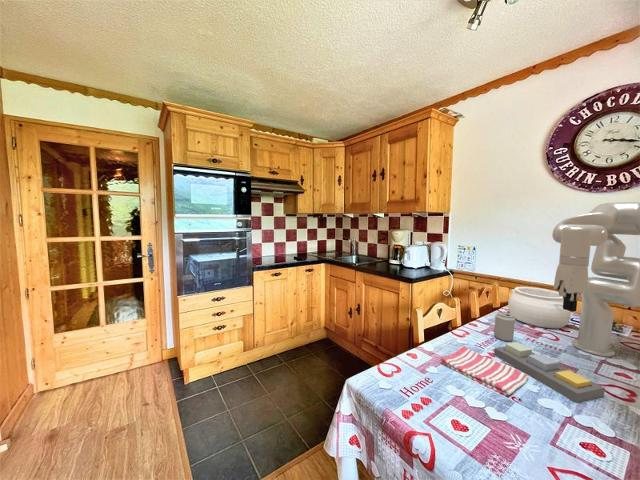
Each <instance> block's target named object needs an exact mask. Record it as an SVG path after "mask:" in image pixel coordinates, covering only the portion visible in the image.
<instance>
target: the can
mask: <svg viewBox="0 0 640 480" xmlns="http://www.w3.org/2000/svg"><path fill="white" fill-rule="evenodd" d="M513 316H514V315H512V314H511V313H510V312H506V311H497V313H496V314H495V317H494V328H493V331H494V332H493V335H494V337H495V338H496V339H498V340H500V341H503V342H504V341H505V342H511V341H514V335H515V324H516V319H515V318H514V317H513Z"/></svg>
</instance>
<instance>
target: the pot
mask: <svg viewBox="0 0 640 480" xmlns="http://www.w3.org/2000/svg"><path fill="white" fill-rule="evenodd" d="M558 294H559V291H557V290H552V289H551V290H550V289H546V288H540V287H531V286H516V287H515V288H514V289H511V295H510V296H509V298H508V301H507V302H508V303H507V304H508V305H507V306H508V307H507V308H508V311H509V313H510V314H512V315H514V316H513V317H514V318H515V320H517V321H519V322H521V323H524V324H527V325H530V326H535V327H538V328H539V327H540V328H546V329H561V328H563V327H565V326H567V324H569V322H570V320H571V316H572V312H571V311H568V310H564V309H563V300H564V299H563V296H560V295H558Z"/></svg>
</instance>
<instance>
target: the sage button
mask: <svg viewBox="0 0 640 480" xmlns="http://www.w3.org/2000/svg"><path fill="white" fill-rule="evenodd" d="M504 344H505V346H504V347H505V350H506V351H507V352H509V353H511V354H513V355H515V356H517V357H519V358H524V357H528V355H532V352H533V349H532V348H530V347H528V346H526V345H523V344H521V343H520V342H516V341H515V342H509V343H504Z"/></svg>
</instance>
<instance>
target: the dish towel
mask: <svg viewBox="0 0 640 480" xmlns="http://www.w3.org/2000/svg"><path fill="white" fill-rule="evenodd" d="M440 361H441V364H442V365H444V366H446V367H448V368H449V369H451V370H452V371H455V372H457V373H460V374H461V375H463V376H464V377H467V378H469V379H471V380H473V381H475V382H477V383H480V384H482V385H483V386H484V387H487V388H489V389H491V390H493V391H495V392H497V393H500V394H503V395H504V396H507V397H508V396H511V394H513V393H514V392H516V390H518V389H519V388H521V387H522V386H523V385H525V384H526V383H527V381H528V380H529V376H528V374H526V373H524V372H523V371H521V370H519V369H517V368H516V367H513V366H511V365H507V364H505V363H501V362H499V361H496V360H493V359H491V358H489V357H487V356H484V355H483V354H480V353H479V352H476V351H474V350H472V349H470V348H468V347H467V346H465V345H462V346H460V348H459V349H457V350H456V351H454V352H453V353H450V354H449V355H444V356H442V357H441V358H440Z"/></svg>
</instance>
